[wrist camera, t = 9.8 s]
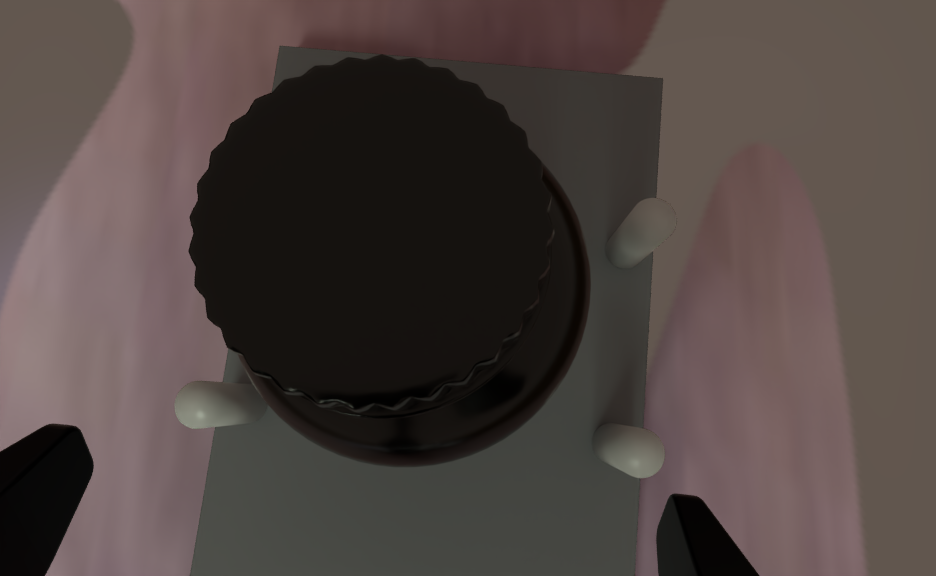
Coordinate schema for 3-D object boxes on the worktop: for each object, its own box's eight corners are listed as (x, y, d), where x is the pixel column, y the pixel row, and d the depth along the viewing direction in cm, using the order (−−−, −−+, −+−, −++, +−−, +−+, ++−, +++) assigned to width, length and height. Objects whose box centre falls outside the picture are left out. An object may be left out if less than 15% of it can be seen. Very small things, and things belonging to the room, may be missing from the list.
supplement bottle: (536, 213, 20) (609, -44, 9) (563, 430, 19) (691, 475, 7) (324, 236, 20) (107, 10, 9) (338, 453, 19) (107, 535, 7)
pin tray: (620, 645, 19) (664, 723, 15) (202, 594, 20) (116, 654, 15) (653, 95, 22) (697, 15, 18) (290, 63, 23) (241, -22, 18)
